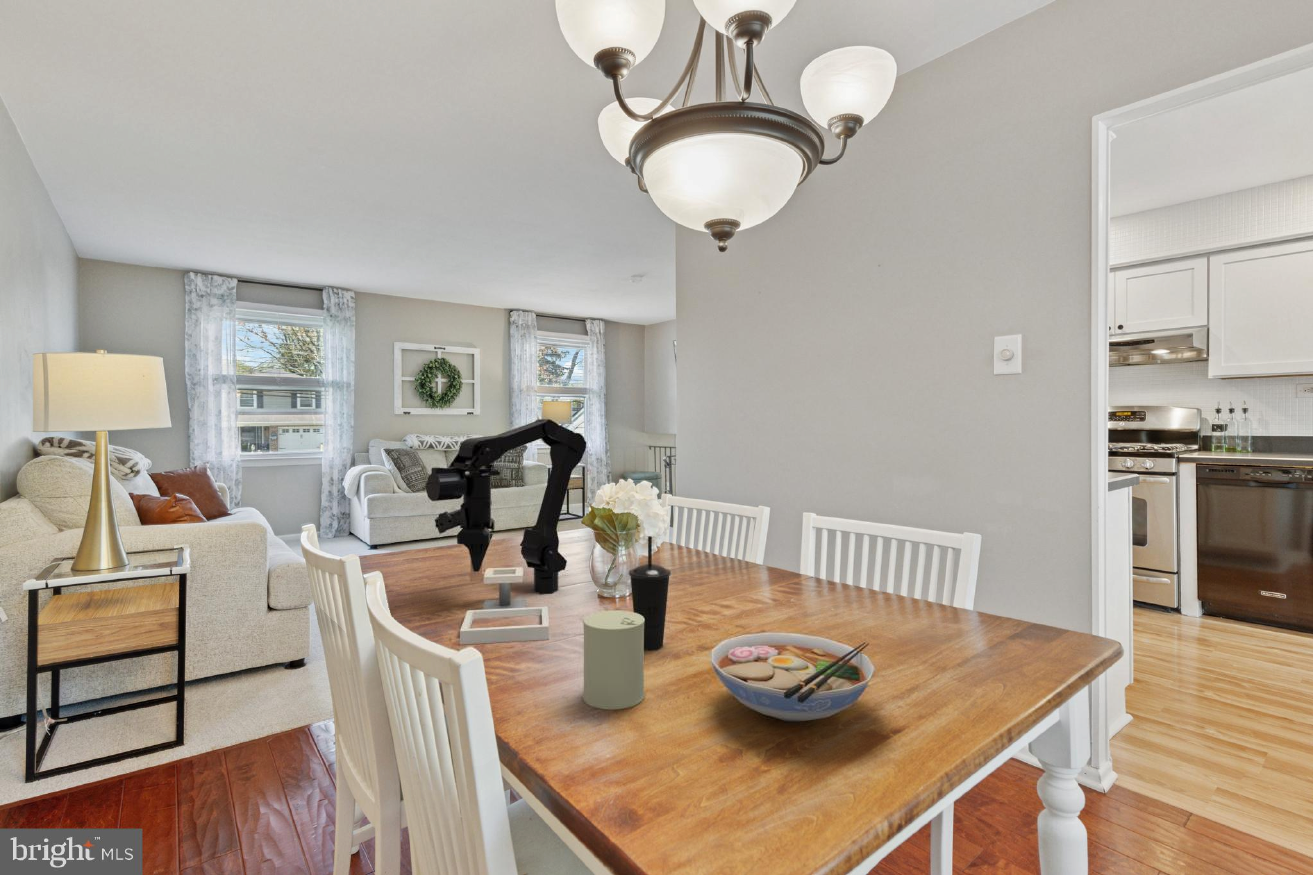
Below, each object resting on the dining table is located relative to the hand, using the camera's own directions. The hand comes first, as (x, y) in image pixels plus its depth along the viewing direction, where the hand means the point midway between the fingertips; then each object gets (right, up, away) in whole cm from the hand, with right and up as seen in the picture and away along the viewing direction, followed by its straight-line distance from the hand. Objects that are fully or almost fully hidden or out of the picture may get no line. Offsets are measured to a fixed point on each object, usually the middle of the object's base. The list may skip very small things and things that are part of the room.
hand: (477, 569), depth 135 cm
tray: (+9, -9, -12) cm, 18 cm away
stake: (+6, -9, +1) cm, 11 cm away
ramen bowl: (+57, -11, -46) cm, 74 cm away
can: (+32, -10, -41) cm, 53 cm away
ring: (+4, -2, +1) cm, 5 cm away
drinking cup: (+37, -10, -20) cm, 43 cm away
